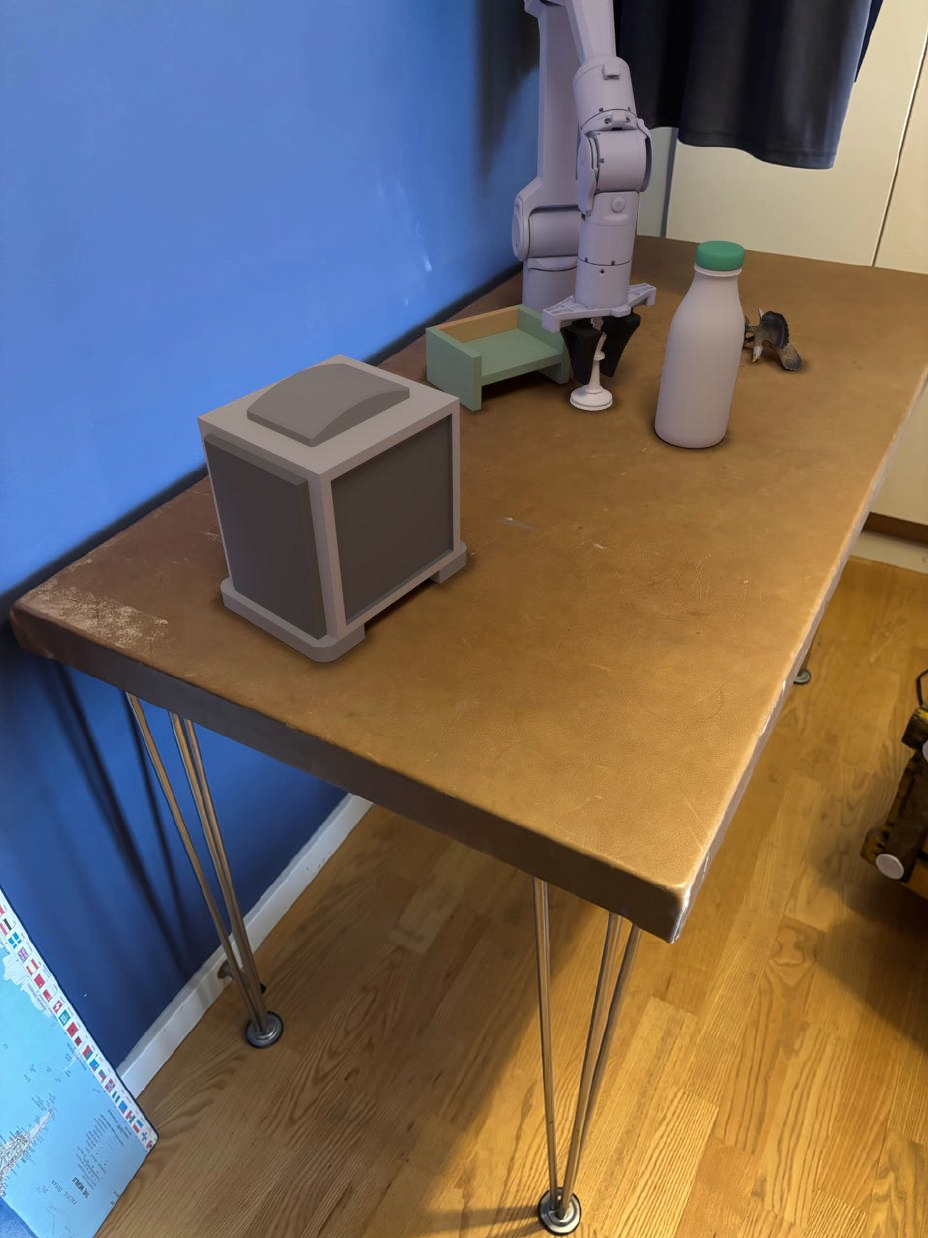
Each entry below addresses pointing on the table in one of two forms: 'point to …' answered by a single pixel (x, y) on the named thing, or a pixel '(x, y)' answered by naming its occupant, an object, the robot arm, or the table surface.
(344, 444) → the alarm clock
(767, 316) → the brown toy animal
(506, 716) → the table surface
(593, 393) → the chess piece
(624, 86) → the robot arm
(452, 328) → the shelf
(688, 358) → the milk bottle
